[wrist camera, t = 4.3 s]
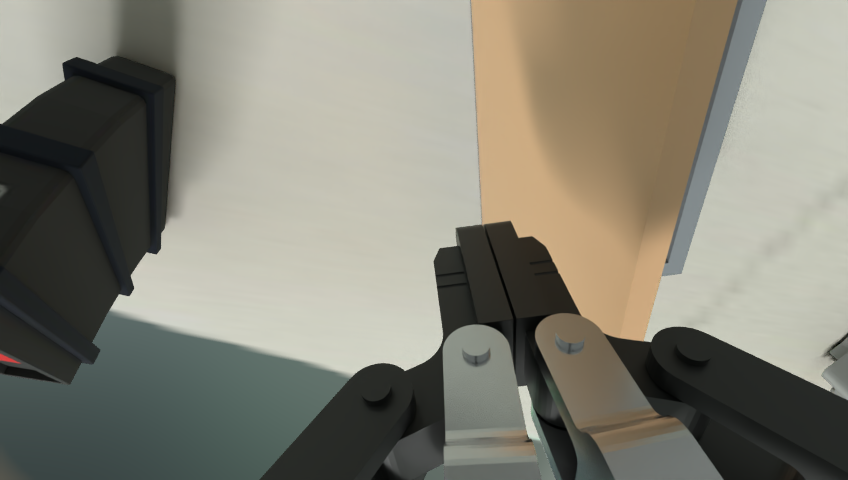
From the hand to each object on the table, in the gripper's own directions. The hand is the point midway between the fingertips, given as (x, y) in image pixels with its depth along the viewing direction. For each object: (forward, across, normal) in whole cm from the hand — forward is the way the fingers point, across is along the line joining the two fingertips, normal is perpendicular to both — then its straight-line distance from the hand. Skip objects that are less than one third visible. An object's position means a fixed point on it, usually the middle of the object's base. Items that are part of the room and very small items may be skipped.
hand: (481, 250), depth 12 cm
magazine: (+15, +18, +2) cm, 24 cm away
